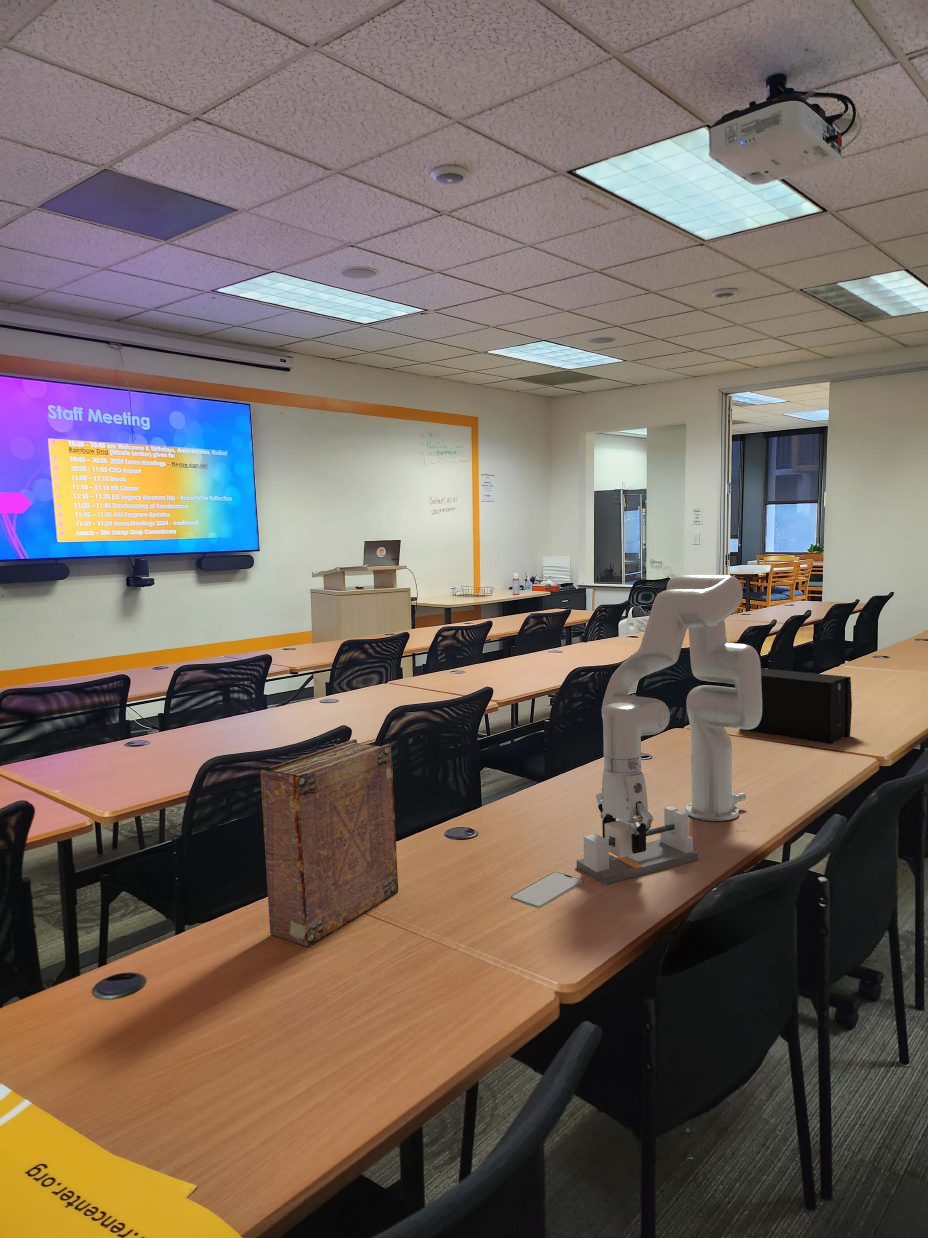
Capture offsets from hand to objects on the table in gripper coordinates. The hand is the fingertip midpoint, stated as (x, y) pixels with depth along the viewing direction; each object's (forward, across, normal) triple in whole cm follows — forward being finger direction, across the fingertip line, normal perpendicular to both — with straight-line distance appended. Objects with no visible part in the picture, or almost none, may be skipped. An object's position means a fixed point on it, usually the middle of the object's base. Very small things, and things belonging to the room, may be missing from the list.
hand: (623, 844), depth 167 cm
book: (+5, +11, +58) cm, 60 cm away
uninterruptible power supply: (+5, +62, -120) cm, 135 cm away
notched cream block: (+1, 0, 0) cm, 1 cm away
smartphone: (+5, -1, +20) cm, 20 cm away
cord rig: (+5, 0, -4) cm, 6 cm away
